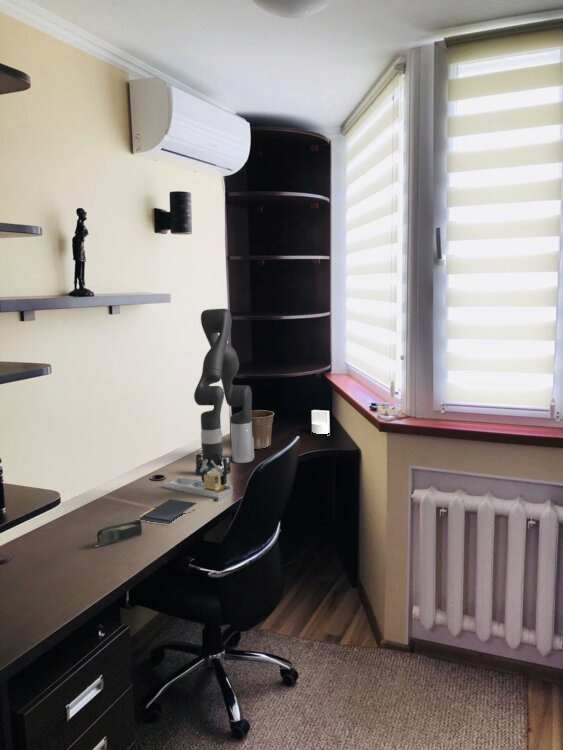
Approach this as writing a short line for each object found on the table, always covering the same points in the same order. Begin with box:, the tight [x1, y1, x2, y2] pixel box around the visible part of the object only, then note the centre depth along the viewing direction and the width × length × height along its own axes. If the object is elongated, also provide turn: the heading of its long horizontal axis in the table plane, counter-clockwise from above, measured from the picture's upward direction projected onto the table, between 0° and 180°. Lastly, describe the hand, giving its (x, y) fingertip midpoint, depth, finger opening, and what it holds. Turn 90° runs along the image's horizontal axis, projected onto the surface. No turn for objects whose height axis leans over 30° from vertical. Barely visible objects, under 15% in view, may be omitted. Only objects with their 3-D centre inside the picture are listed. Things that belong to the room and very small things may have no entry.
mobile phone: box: [94, 520, 143, 548], centre depth 176 cm, size 5×3×15 cm
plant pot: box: [252, 409, 275, 450], centre depth 274 cm, size 16×16×16 cm
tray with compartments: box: [163, 475, 233, 502], centre depth 216 cm, size 8×26×3 cm, turn 58°
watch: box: [193, 448, 213, 476], centre depth 234 cm, size 6×8×11 cm
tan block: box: [204, 470, 224, 493], centre depth 212 cm, size 5×5×7 cm
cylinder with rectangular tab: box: [311, 409, 331, 434], centre depth 293 cm, size 9×9×12 cm
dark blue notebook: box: [138, 498, 198, 524], centre depth 198 cm, size 20×2×15 cm
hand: (214, 483), depth 212 cm, fingers open, 8 cm apart
